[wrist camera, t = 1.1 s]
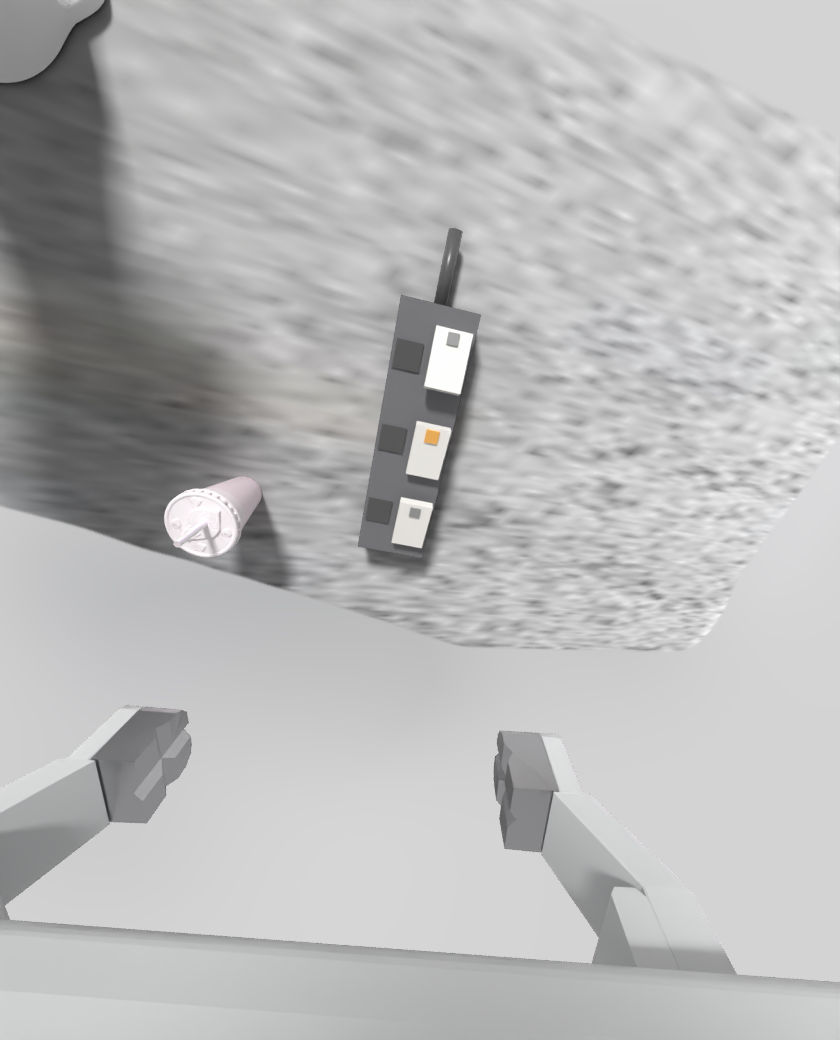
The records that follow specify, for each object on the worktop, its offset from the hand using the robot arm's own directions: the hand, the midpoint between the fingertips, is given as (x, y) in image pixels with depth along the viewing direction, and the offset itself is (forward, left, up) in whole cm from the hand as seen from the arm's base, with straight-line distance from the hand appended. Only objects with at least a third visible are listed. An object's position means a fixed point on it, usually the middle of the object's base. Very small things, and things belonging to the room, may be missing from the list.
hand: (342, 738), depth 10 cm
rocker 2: (-2, +3, -30) cm, 30 cm away
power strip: (-5, +1, -34) cm, 34 cm away
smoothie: (+8, -16, -34) cm, 38 cm away
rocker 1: (-10, +3, -30) cm, 32 cm away
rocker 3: (+5, +3, -30) cm, 31 cm away
